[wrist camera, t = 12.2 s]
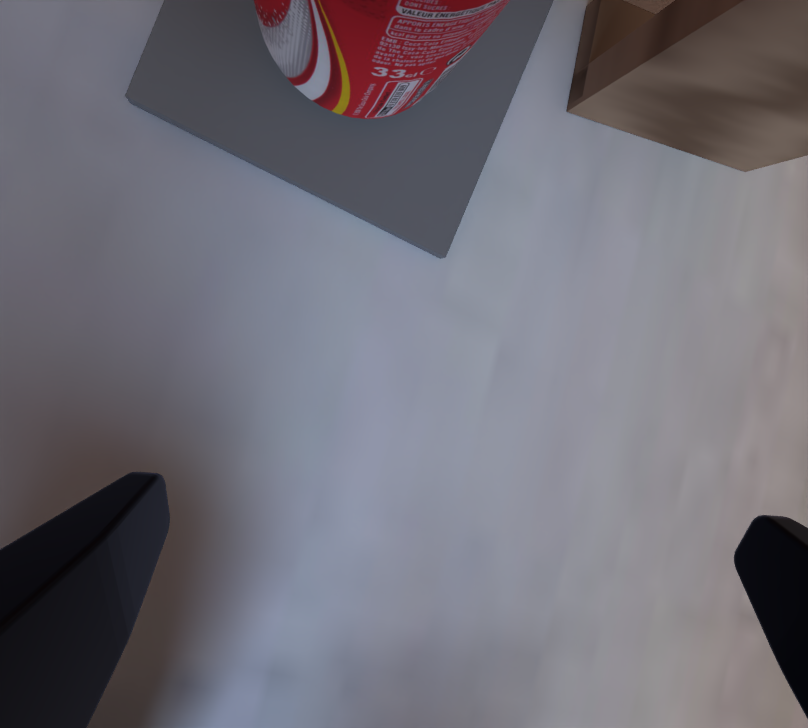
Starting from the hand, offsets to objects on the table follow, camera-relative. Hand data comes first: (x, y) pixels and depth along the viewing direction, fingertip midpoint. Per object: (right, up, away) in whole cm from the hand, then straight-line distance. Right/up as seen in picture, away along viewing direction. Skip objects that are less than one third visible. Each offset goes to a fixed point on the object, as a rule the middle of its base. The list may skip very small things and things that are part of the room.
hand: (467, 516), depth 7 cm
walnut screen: (+11, +14, +14) cm, 23 cm away
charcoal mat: (-2, +14, +11) cm, 18 cm away
